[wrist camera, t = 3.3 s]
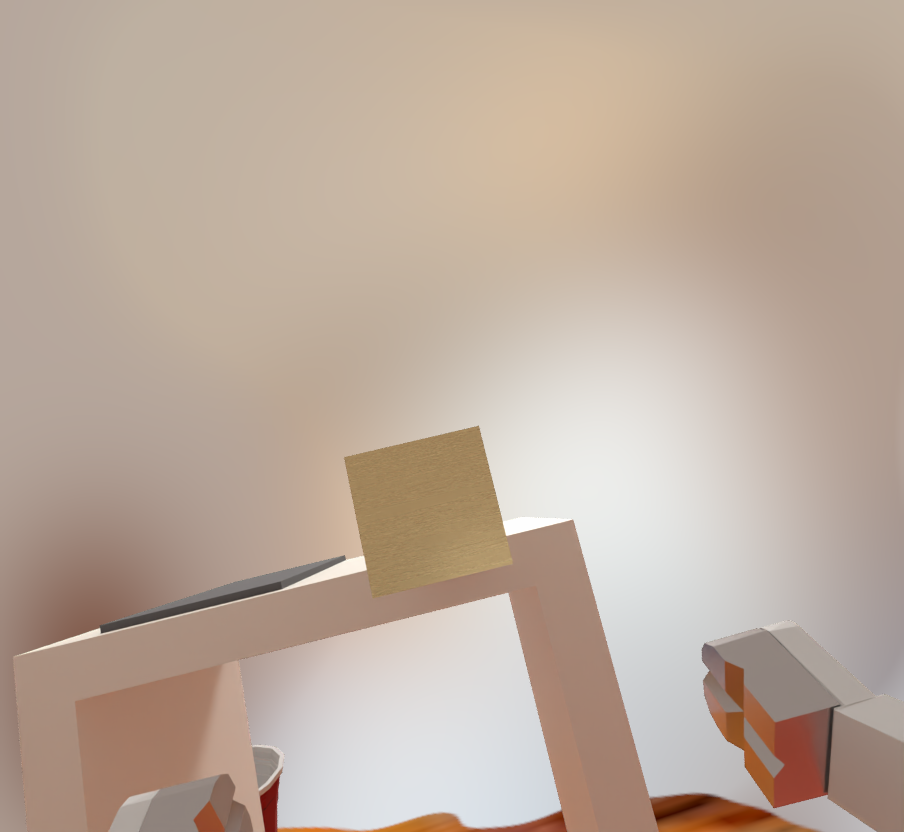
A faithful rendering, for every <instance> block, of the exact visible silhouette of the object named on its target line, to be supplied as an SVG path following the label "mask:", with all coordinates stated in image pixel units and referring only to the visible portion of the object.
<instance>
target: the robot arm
mask: <svg viewBox="0 0 904 832" xmlns="http://www.w3.org/2000/svg"><path fill="white" fill-rule="evenodd" d="M702 661H703V663H704V664H705V665H706V667H707V668H708V669H709V672H708V674H707V675H706V677H705V678H704V680H703V685H704V696H705V699H706V702H707V705H708V708H709V711H710V713H711V715H712V717H713V719H714V721H715V723H716V725H717V727H718V728H719V729H720V731H721V733H722V734H723V736H724V737H725V739H726V740H727V741H728V742H730V743H732V744H734V745H735V746H737V747H739V748H741V749H742V750H744V758H745V768H746V769H747V771H748V772H749V773H750V775H751V776H752V778H753V779H754V781H755V782H756V783H757V785H758V786H759V788H760V789H761V791H762V792H763V794H764V795H765V796H766V798H767V799H768V801H769V802H770V803H771V805H772V806H773V808H777V807H781V806H785V805H789V804H793V803H796V802H801V801H805V800H809V799H813V798H817V797H821V796H824V795H828V799H829V800H831V801H833V802H834V803H835V804H837V805H838V806H840V807H841V808H843V809H844V810H846V811H847V812H849V813H850V814H852V815H853V816H855V817H856V818H858V819H859V820H860V821H862V822H863V823H865V824H866V825H868V826H869V827H871V828H872V829H874V830H875V831H877V832H904V702H902V701H900V700H897V699H895V698H893V697H890V696H888V695H886V694H884V695H879V696H875V695H874V694H873V693H871V692H870V691H869V690H868V689H867V688H866V687H865V686H864V685H863V684H862V683H860V681H858V680H857V679H856V678H855V677H854V676H853V675H852V674H851V673H850V672H849V671H848V670H846V669H845V668H844V667H843V666H842V665H841V664H840V663H839V662H837V660H836V659H835V658H833V657H832V656H831V655H830V654H829V653H828V652H827V651H826V650H825V649H824V648H823V647H821V646H820V645H819V644H818V643H817V642H816V641H815V640H814V639H813V638H812V637H810V636H809V635H808V634H807V633H806V632H805V631H804V630H803V629H802V628H801V627H800V626H798V625H797V624H796V623H794V622H792V621H790V620H787V621H784V622H780V623H777V624H773V625H769V626H765V627H762V628H760V629H757V628H756V629H753V630H749V631H746V632H742V633H738V634H735V635H732V636H728V637H724V638H721V639H718V640H714V641H710V642H707V643H705V644H704V645H703V648H702ZM235 788H236V787H235V785H234V783H233V781H232V780H231V778H230V776H229V774H221V775H216V776H212V777H208V778H204V779H200V780H196V781H191V782H187V783H183V784H179V785H175V786H171V787H166V788H162V789H159V790H155V791H151V792H147V793H143V794H139V795H135V796H131V797H129V798H128V799H127V800H126V801H125V802H124V803H123V805H122V806H121V807H120V808H119V810H118V812H117V814H116V816H115V819H114V821H113V823H112V825H111V827H110V830H109V832H253V827H252V823H251V818H250V815H249V813H248V811H247V809H246V806H245V805H243V804H241V803H239V802H237V801H234V800H233V796H234V792H235Z"/></svg>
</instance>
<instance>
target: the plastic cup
mask: <svg viewBox="0 0 904 832" xmlns="http://www.w3.org/2000/svg"><path fill="white" fill-rule="evenodd" d="M252 751H253V757H254V763H255V770H256V776H257V783H258V789H259V796H260V802H261V809H262V815H263V822H264V828H265V832H277V801H278V787H279V778H280V775H281V773H282V769H283V762H284V753H282V752H281V751H280V750H279V749H278V748H277V747H273V746H265V745H255V746H252Z"/></svg>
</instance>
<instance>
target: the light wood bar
mask: <svg viewBox="0 0 904 832" xmlns="http://www.w3.org/2000/svg"><path fill="white" fill-rule="evenodd" d="M344 459H345V464H346V469H347V474H348V478H349V484H350V489H351V494H352V499H353V504H354V509H355V514H356V518H357V524H358V528H359V534H360V539H361V543H362V548H363V553H364V558H365V563H366V568H367V573H368V578H369V583H370V588H371V593H372V598H377V597H381V596H385V595H389V594H393V593H397V592H401V591H405V590H409V589H413V588H417V587H421V586H425V585H429V584H433V583H437V582H441V581H445V580H449V579H453V578H457V577H461V576H466V575H470V574H474V573H478V572H482V571H486V570H490V569H494V568H498V567H502V566H506V565H510V564H513V561H512V557H511V553H510V549H509V545H508V541H507V537H506V533H505V529H504V525H503V521H502V517H501V513H500V509H499V505H498V501H497V497H496V493H495V489H494V485H493V481H492V477H491V473H490V469H489V465H488V461H487V457H486V453H485V449H484V445H483V441H482V437H481V433H480V429H479V426H477V427H472V428H468V429H464V430H459V431H455V432H451V433H446V434H443V435H438V436H433V437H429V438H425V439H421V440H416V441H412V442H408V443H403V444H400V445H395V446H391V447H386V448H382V449H378V450H374V451H369V452H365V453H361V454H356V455H352V456H348V457H345V458H344Z"/></svg>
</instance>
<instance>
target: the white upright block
mask: <svg viewBox="0 0 904 832" xmlns="http://www.w3.org/2000/svg"><path fill="white" fill-rule="evenodd" d="M503 525H504V529H505V533H506V537H507V541H508V545H509V549H510V553H511V557H512V561H513V564H510V565H506V566H502V567H498V568H494V569H490V570H486V571H482V572H478V573H474V574H470V575H466V576H461V577H457V578H453V579H449V580H445V581H441V582H437V583H433V584H429V585H425V586H421V587H417V588H413V589H409V590H405V591H401V592H397V593H393V594H389V595H385V596H381V597H377V598H372V593H371V588H370V583H369V578H368V573H367V568H366V563H365V558H364V556H361V557H357V558H353V559H348V560H346V559H345V556H340V557H336V558H332V559H328V560H324V561H320V562H315V563H312V564H307V565H303V566H299V567H295V568H291V569H287V570H283V571H279V572H275V573H271V574H266V575H262V576H258V577H254V578H250V579H246V580H242V581H238V582H234V583H231V584H227V585H224V586H221V587H218V588H215V589H212V590H209V591H206V592H203V593H200V594H197V595H193V596H190V597H187V598H184V599H181V600H178V601H175V602H172V603H168V604H165V605H162V606H159V607H156V608H153V609H150V610H147V611H144V612H140V613H137V614H134V615H131V616H128V617H125V618H122V619H119V620H116V621H112V622H109V623H106V624H103V625H100V628H99V629H96V630H93V631H90V632H87V633H84V634H81V635H78V636H75V637H72V638H69V639H66V640H63V641H60V642H57V643H54V644H51V645H48V646H45V647H42V648H39V649H36V650H33V651H29V652H26V653H24V654H20V655H18V656H15V657H13V663H14V676H15V688H16V699H17V712H18V724H19V736H20V748H21V761H22V773H23V785H24V798H25V810H26V822H27V832H109V830H110V827H111V825H112V823H113V821H114V819H115V816H116V814H117V812H118V810H119V808H120V807H121V806H122V805H123V803H124V802H125V801H126V800H127V799H128V798H129V797H131V796H135V795H139V794H143V793H147V792H151V791H155V790H159V789H162V788H166V787H171V786H175V785H179V784H183V783H187V782H191V781H196V780H200V779H204V778H208V777H212V776H216V775H221V774H229V776H230V778H231V780H232V781H233V783H234V785H235V787H236V788H235V792H234V796H233V800H234V801H237V802H239V803H241V804H243V805H245V806H246V809H247V811H248V813H249V815H250V818H251V823H252V827H253V832H265V828H264V822H263V815H262V809H261V802H260V796H259V789H258V783H257V776H256V770H255V763H254V757H253V751H252V744H251V738H250V732H249V725H248V718H247V712H246V705H245V699H244V692H243V686H242V679H241V673H240V666H239V660H241V659H245V658H249V657H253V656H257V655H261V654H265V653H269V652H273V651H277V650H281V649H285V648H289V647H293V646H297V645H301V644H305V643H309V642H313V641H317V640H321V639H325V638H329V637H333V636H337V635H341V634H345V633H348V632H353V631H356V630H361V629H365V628H369V627H372V626H376V625H380V624H384V623H388V622H392V621H396V620H401V619H405V618H409V617H413V616H416V615H421V614H424V613H429V612H432V611H436V610H440V609H444V608H448V607H452V606H456V605H460V604H464V603H468V602H472V601H476V600H480V599H484V598H488V597H492V596H496V595H500V594H504V593H509V597H510V601H511V605H512V609H513V613H514V617H515V621H516V625H517V629H518V633H519V637H520V641H521V645H522V649H523V653H524V657H525V662H526V666H527V670H528V674H529V678H530V682H531V686H532V690H533V694H534V698H535V702H536V706H537V711H538V715H539V719H540V722H541V727H542V731H543V735H544V739H545V743H546V747H547V751H548V755H549V759H550V763H551V767H552V771H553V775H554V779H555V784H556V788H557V792H558V796H559V800H560V804H561V808H562V812H563V816H564V820H565V824H566V828H567V832H659V831H658V828H657V824H656V820H655V817H654V813H653V809H652V806H651V802H650V798H649V795H648V791H647V788H646V784H645V780H644V776H643V773H642V770H641V766H640V762H639V758H638V755H637V751H636V748H635V744H634V740H633V736H632V733H631V729H630V725H629V722H628V718H627V714H626V711H625V708H624V703H623V700H622V697H621V693H620V689H619V685H618V682H617V678H616V675H615V671H614V667H613V664H612V660H611V656H610V653H609V649H608V645H607V641H606V638H605V634H604V630H603V627H602V623H601V620H600V616H599V612H598V609H597V605H596V601H595V598H594V594H593V591H592V587H591V583H590V580H589V576H588V572H587V568H586V565H585V561H584V558H583V554H582V550H581V547H580V543H579V540H578V536H577V532H576V529H575V525H574V521H573V520H572V519H551V518H529V517H521V518H517V519H512V520H508V521H504V522H503Z"/></svg>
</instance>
